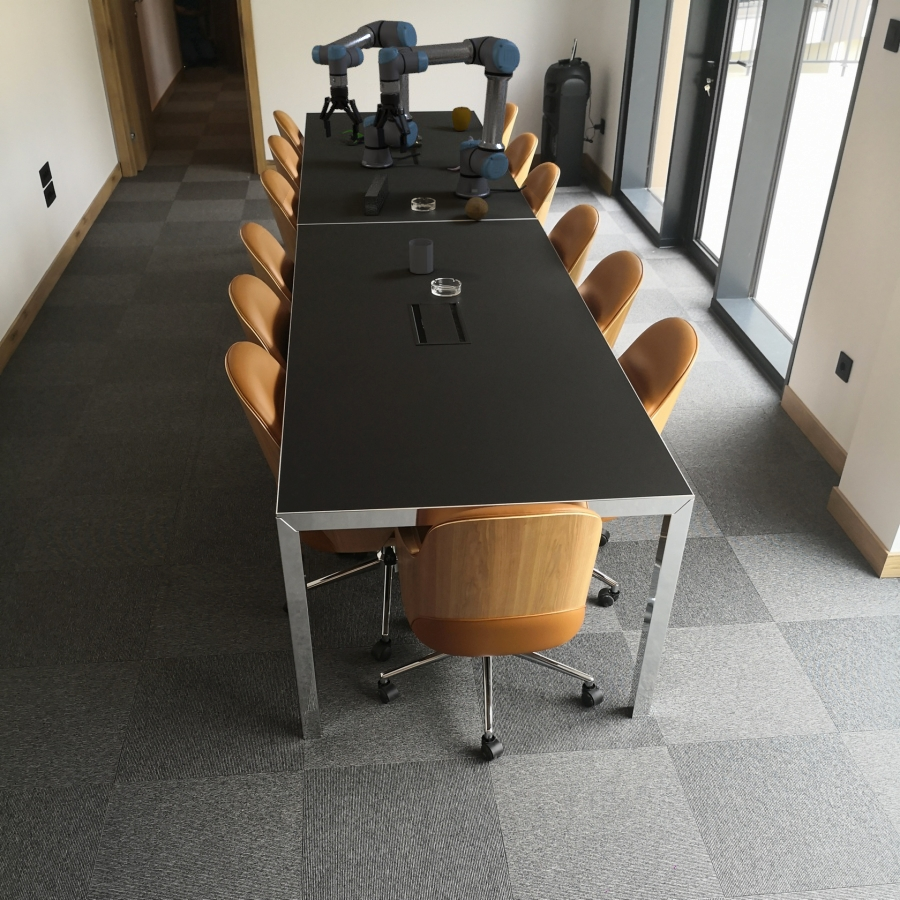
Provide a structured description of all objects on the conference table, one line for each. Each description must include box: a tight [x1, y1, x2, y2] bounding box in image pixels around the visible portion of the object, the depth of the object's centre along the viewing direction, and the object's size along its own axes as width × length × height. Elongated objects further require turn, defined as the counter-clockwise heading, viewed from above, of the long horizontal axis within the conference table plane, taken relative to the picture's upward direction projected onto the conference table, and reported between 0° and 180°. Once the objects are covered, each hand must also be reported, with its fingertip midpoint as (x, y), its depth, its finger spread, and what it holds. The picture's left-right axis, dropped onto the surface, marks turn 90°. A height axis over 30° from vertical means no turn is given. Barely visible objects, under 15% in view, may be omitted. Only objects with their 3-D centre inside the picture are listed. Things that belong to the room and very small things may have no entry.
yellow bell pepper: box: [451, 105, 472, 132], centre depth 487 cm, size 11×11×13 cm
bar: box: [364, 173, 389, 216], centre depth 373 cm, size 34×5×8 cm, turn 176°
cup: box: [408, 237, 434, 275], centre depth 305 cm, size 8×8×10 cm
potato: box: [464, 197, 489, 220], centre depth 355 cm, size 10×14×8 cm
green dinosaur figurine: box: [340, 129, 364, 146], centre depth 465 cm, size 6×13×30 cm
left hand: (342, 138), depth 374 cm, fingers open, 13 cm apart
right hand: (392, 149), depth 343 cm, fingers open, 13 cm apart
